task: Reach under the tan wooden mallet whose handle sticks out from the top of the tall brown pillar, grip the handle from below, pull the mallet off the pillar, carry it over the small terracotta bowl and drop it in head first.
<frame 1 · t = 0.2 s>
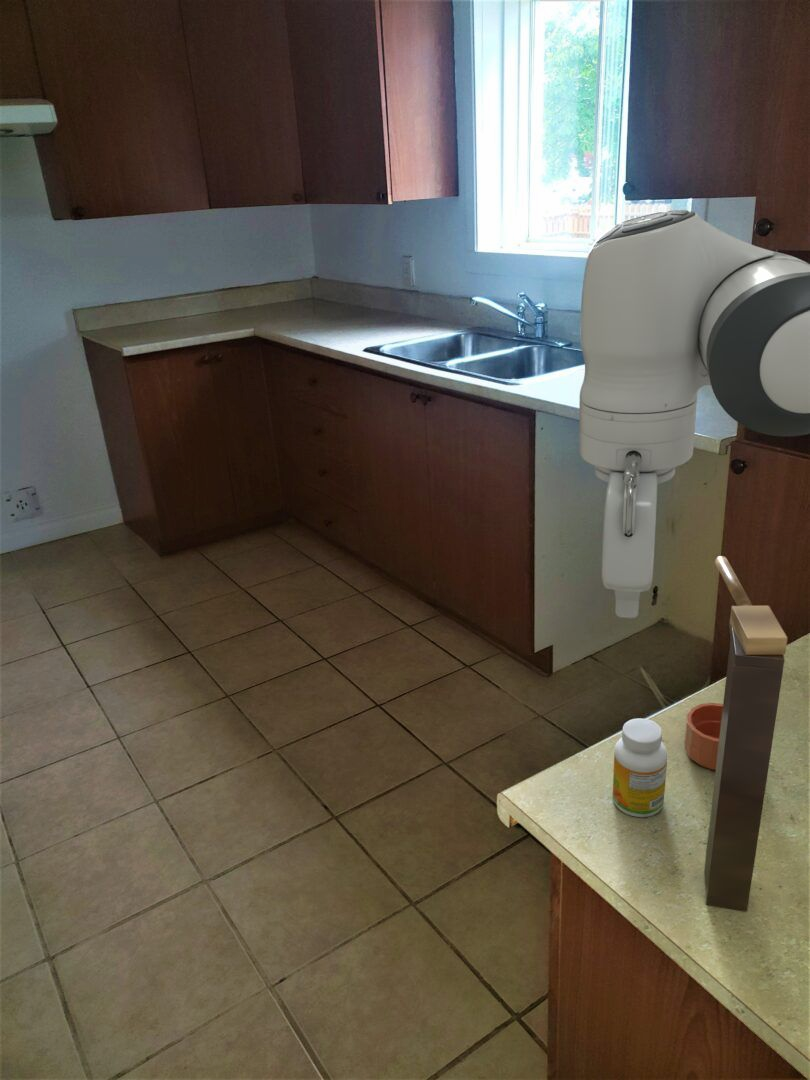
hand: (629, 585, 71), 30 cm above the countertop, tool pointing down, fingers open, 8 cm apart
tall brown pillar: (725, 891, 78), on the countertop
tan wooden mallet: (756, 637, 66), point 28 cm above the countertop, touching tall brown pillar
supplement bottle: (637, 802, 89), on the countertop
bowl: (715, 752, 95), on the countertop
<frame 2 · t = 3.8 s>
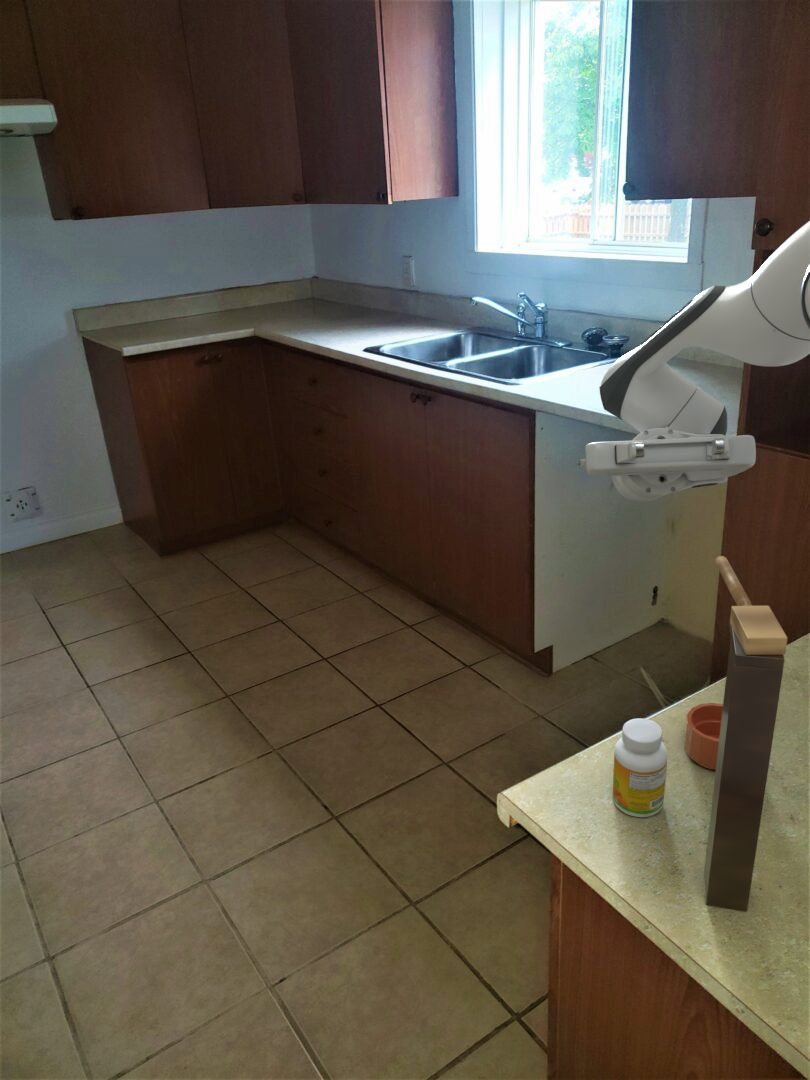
hand: (679, 446, 94), 33 cm above the countertop, tool pointing upward, fingers open, 8 cm apart
nothing on the countertop moved.
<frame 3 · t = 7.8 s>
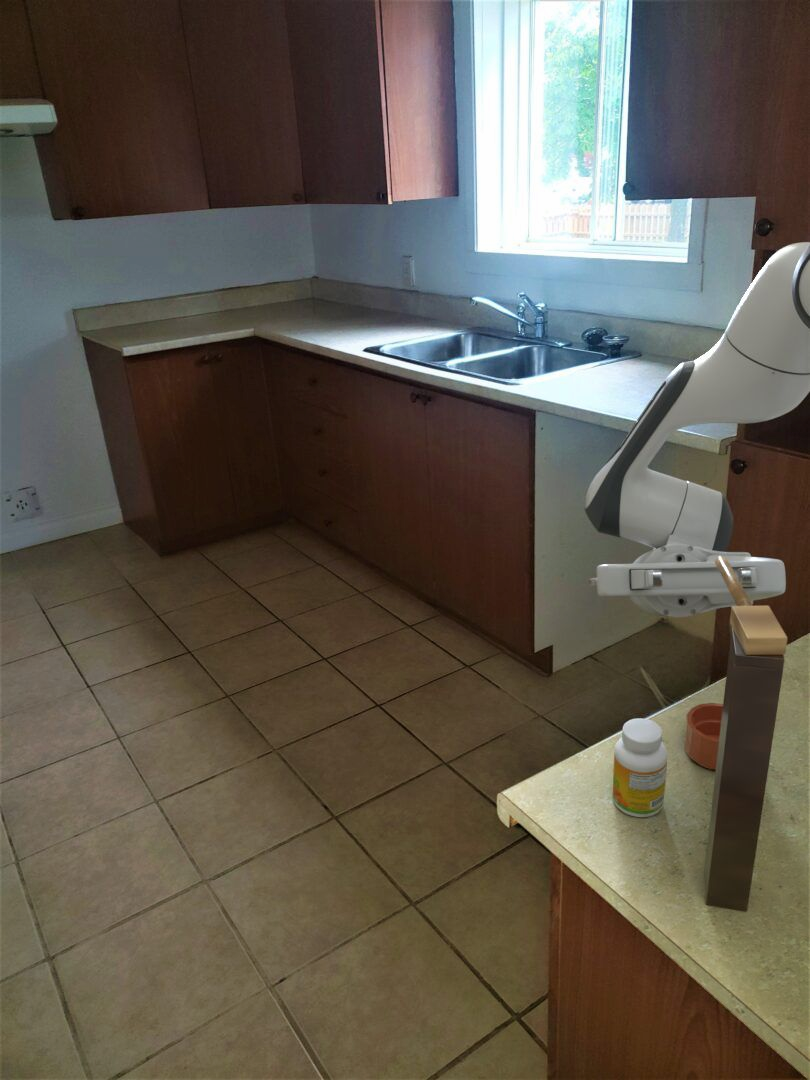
hand: (701, 577, 85), 24 cm above the countertop, tool pointing upward, fingers open, 8 cm apart
nothing on the countertop moved.
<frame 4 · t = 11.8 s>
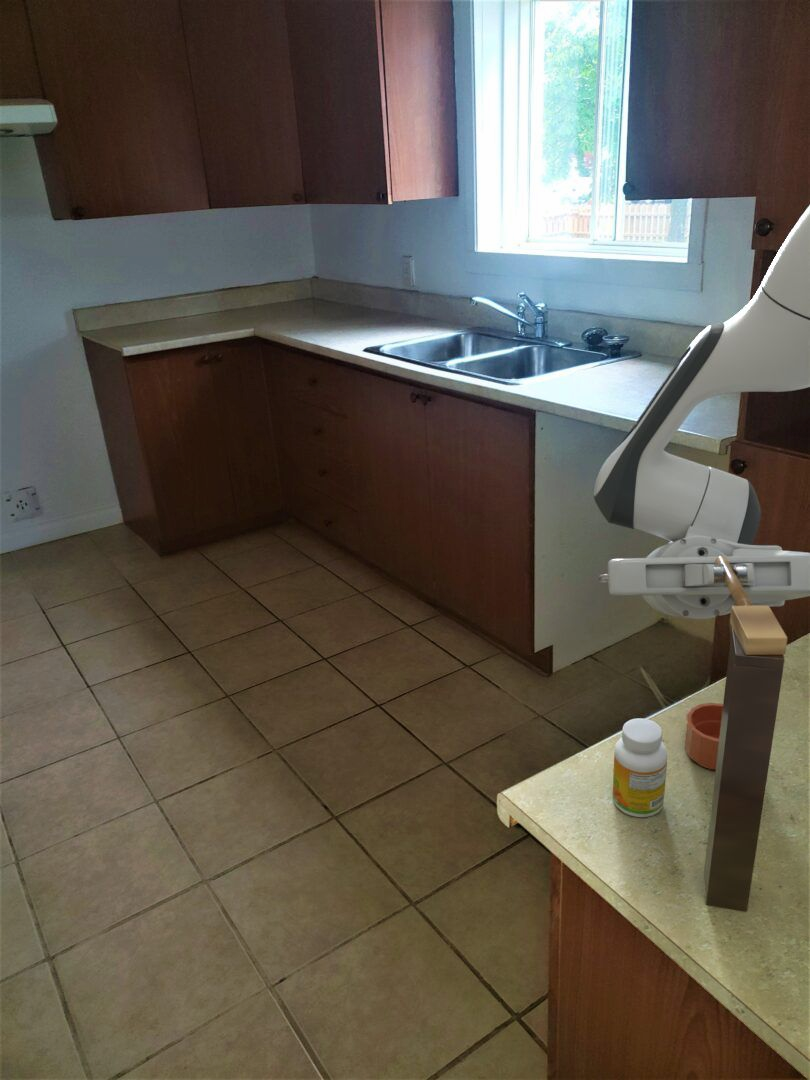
hand: (730, 573, 74), 29 cm above the countertop, tool pointing upward, fingers closed on tan wooden mallet, 1 cm apart
tan wooden mallet: (756, 638, 66), point 28 cm above the countertop, touching gripper, tall brown pillar
everything else where it was.
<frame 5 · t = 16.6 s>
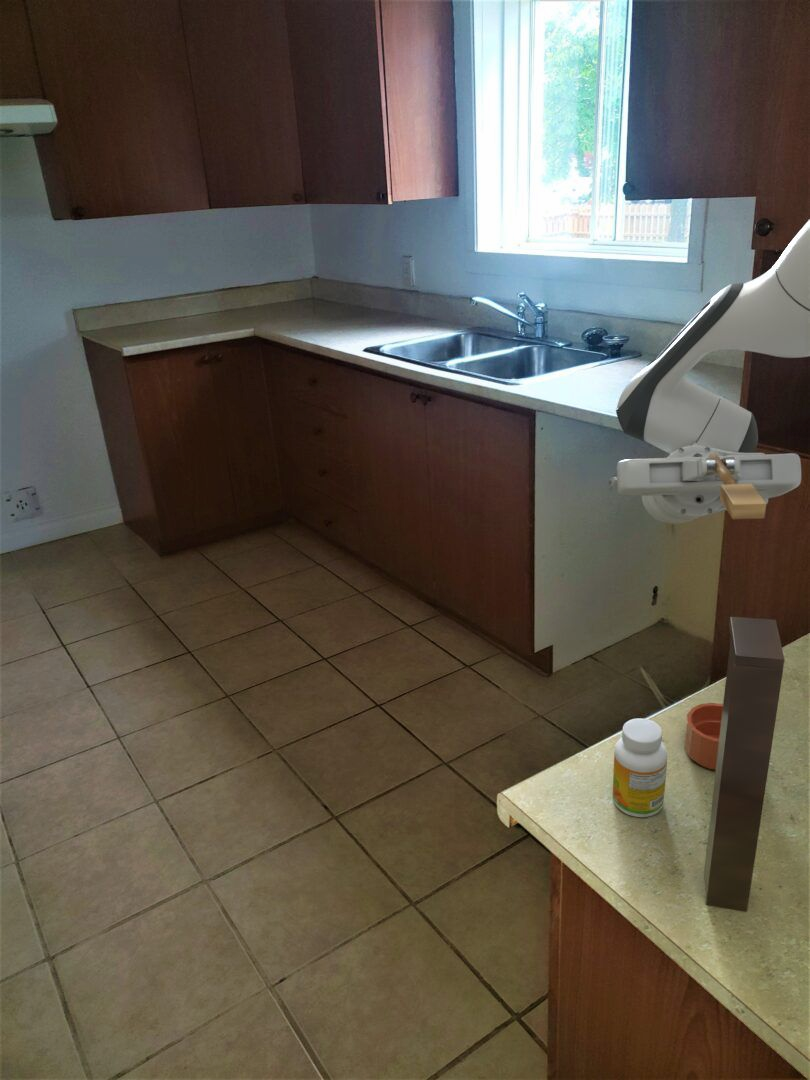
hand: (721, 464, 88), 33 cm above the countertop, tool pointing upward, fingers closed on tan wooden mallet
tan wooden mallet: (741, 508, 80), point 32 cm above the countertop, touching gripper
everything else where it was.
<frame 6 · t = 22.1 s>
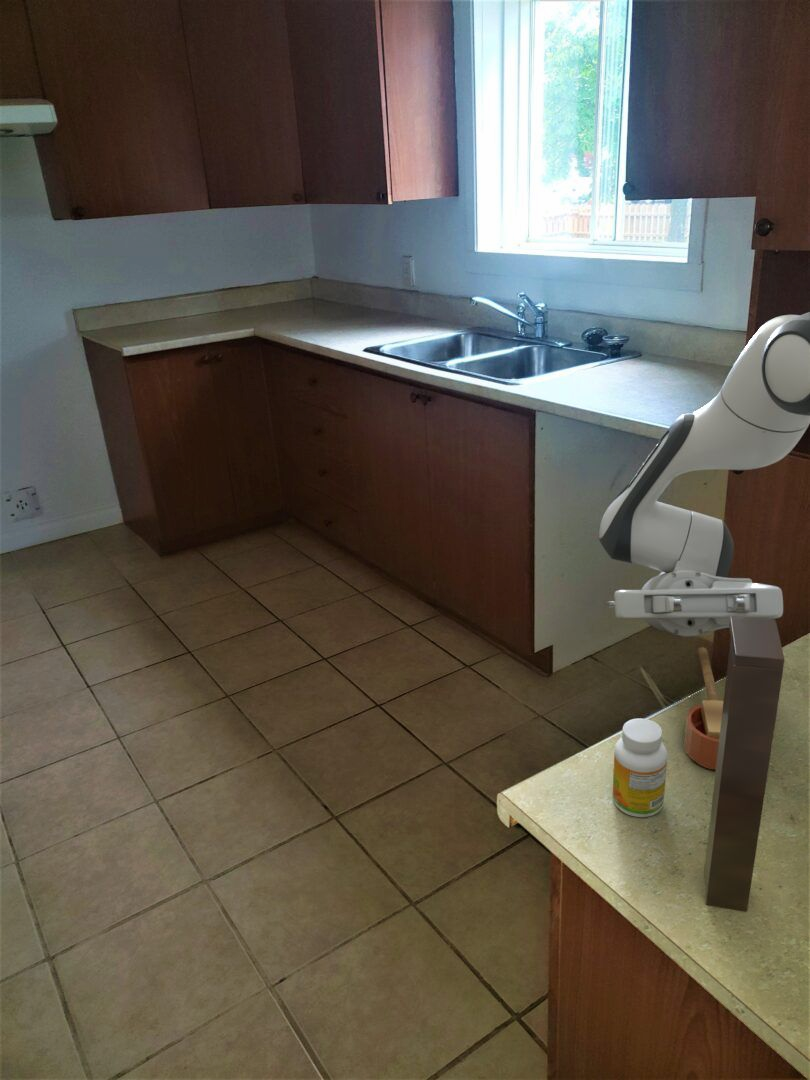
hand: (709, 603, 96), 15 cm above the countertop, tool pointing upward, fingers open, 6 cm apart
tan wooden mallet: (717, 725, 93), point 4 cm above the countertop, tilted 7°, touching bowl
everything else where it was.
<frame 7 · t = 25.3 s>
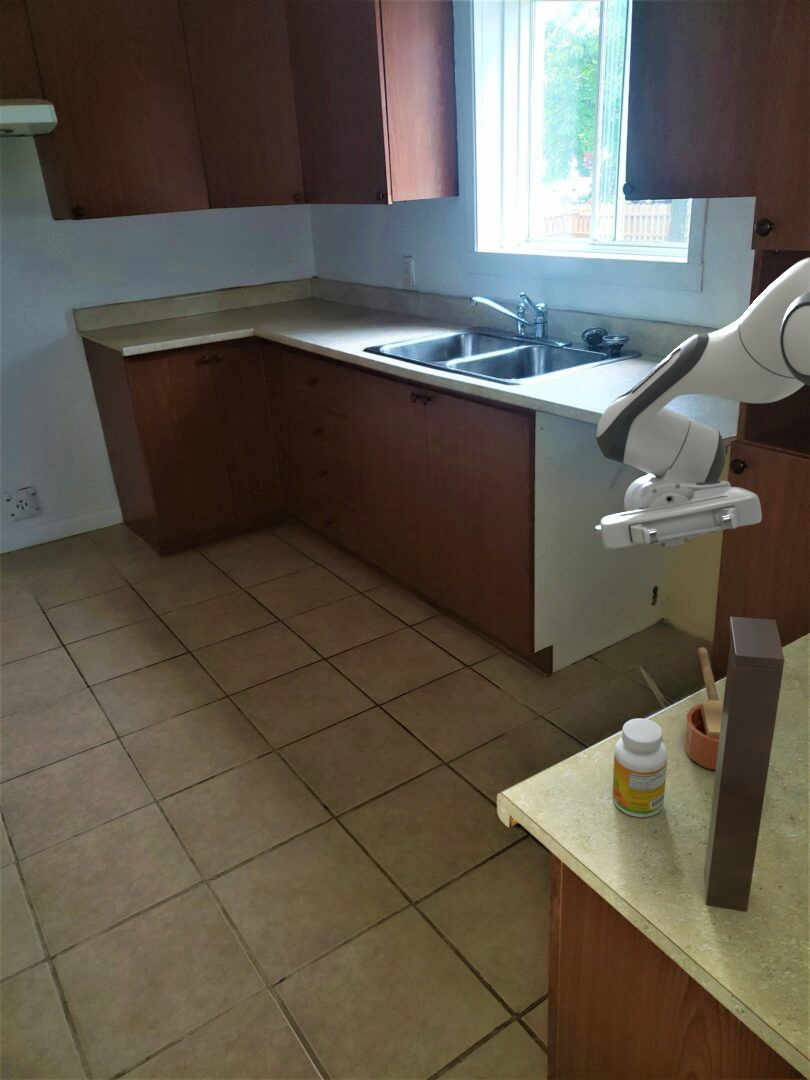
hand: (690, 530, 101), 21 cm above the countertop, tool pointing upward, fingers open, 8 cm apart
nothing on the countertop moved.
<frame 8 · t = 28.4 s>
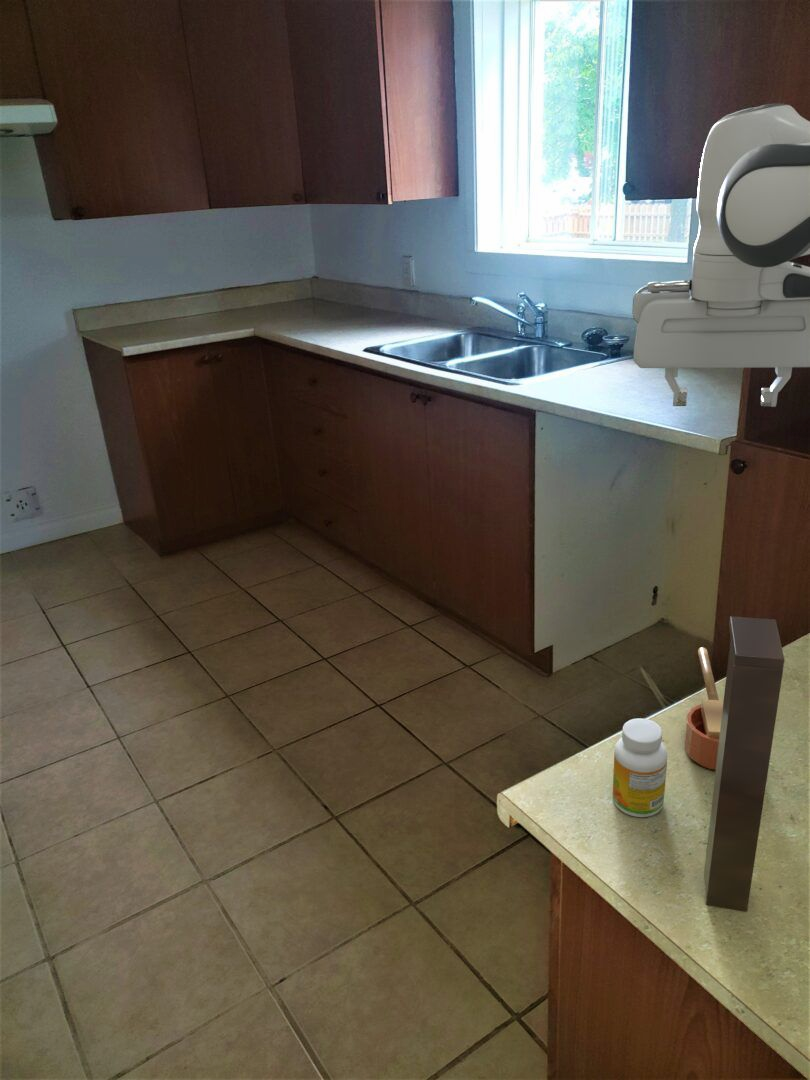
hand: (723, 405, 93), 37 cm above the countertop, tool pointing down, fingers open, 8 cm apart
nothing on the countertop moved.
at the end: tan wooden mallet inside the target area in the bowl (0.1 cm from its centre), point 3.9 cm above the bowl's base; the gripper is holding nothing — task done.
